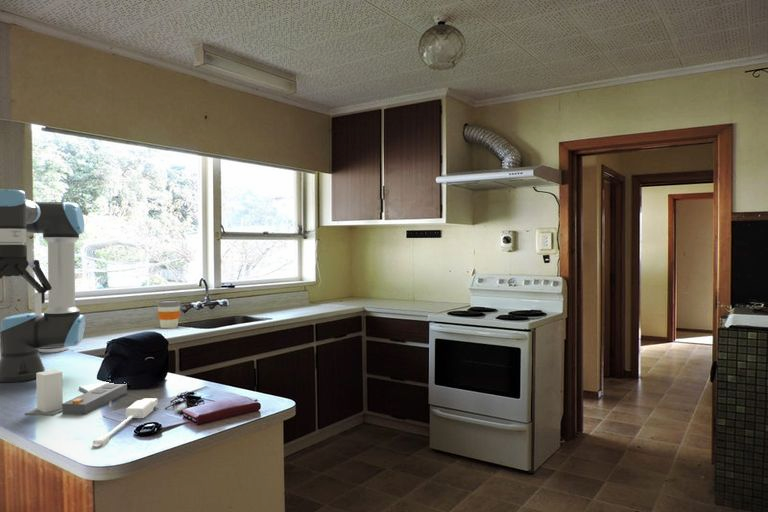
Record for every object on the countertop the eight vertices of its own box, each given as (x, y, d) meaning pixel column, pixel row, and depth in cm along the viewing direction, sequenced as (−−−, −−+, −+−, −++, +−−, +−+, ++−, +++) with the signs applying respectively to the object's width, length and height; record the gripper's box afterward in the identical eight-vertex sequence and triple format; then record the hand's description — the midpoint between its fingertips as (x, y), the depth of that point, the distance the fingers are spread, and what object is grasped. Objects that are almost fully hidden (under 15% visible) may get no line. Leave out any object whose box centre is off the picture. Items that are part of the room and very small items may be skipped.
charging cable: (85, 452, 133) (84, 439, 133) (142, 406, 165) (142, 395, 165) (105, 452, 133) (105, 439, 133) (159, 406, 166) (158, 395, 165)
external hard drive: (79, 390, 184) (116, 383, 193) (88, 395, 178) (126, 387, 187) (78, 386, 183) (116, 378, 193) (88, 390, 178) (126, 383, 187)
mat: (46, 404, 167) (46, 403, 167) (74, 405, 166) (74, 404, 166) (24, 414, 158) (24, 413, 158) (54, 415, 157) (54, 414, 157)
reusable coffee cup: (176, 324, 317) (176, 299, 316) (184, 327, 307) (183, 301, 307) (154, 326, 309) (153, 300, 308) (161, 329, 299) (161, 302, 299)
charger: (37, 409, 161) (36, 372, 161) (55, 404, 165) (54, 369, 165) (44, 412, 158) (44, 375, 158) (62, 407, 162) (62, 371, 162)
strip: (120, 385, 188) (120, 375, 188) (139, 386, 188) (139, 375, 187) (62, 413, 158) (62, 401, 158) (85, 414, 158) (84, 402, 158)
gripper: (-37, 244, 142) (-35, 324, 143) (63, 243, 163) (64, 313, 163) (-48, 244, 146) (-46, 321, 147) (51, 243, 167) (52, 311, 168)
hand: (12, 317), depth 155 cm, fingers open, 13 cm apart
